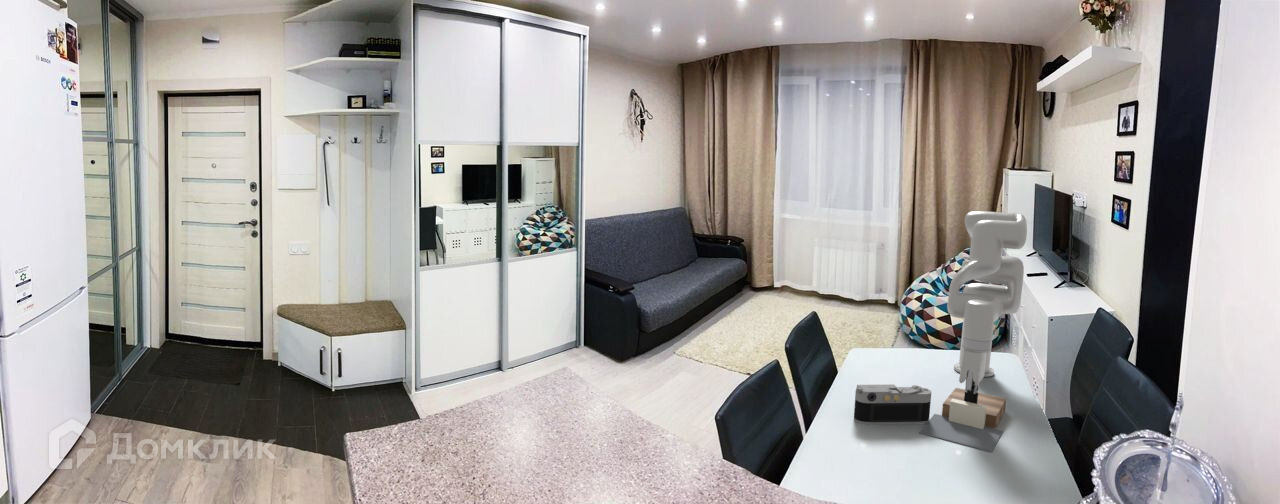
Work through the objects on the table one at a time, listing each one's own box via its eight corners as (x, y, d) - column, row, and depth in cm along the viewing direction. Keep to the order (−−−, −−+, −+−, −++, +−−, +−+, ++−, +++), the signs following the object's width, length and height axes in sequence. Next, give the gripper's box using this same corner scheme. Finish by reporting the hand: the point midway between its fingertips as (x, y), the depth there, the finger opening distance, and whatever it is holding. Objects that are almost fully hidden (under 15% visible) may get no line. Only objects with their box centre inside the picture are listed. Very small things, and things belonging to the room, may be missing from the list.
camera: (918, 411, 196) (921, 379, 194) (933, 425, 187) (936, 391, 185) (846, 411, 195) (849, 380, 194) (858, 425, 186) (861, 392, 184)
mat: (934, 414, 194) (934, 413, 193) (1002, 431, 183) (1002, 430, 183) (919, 433, 181) (919, 432, 181) (991, 452, 170) (991, 451, 170)
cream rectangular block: (952, 398, 189) (950, 401, 187) (986, 406, 184) (984, 409, 182) (950, 417, 191) (948, 420, 189) (984, 425, 185) (983, 429, 183)
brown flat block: (954, 399, 205) (955, 387, 204) (1005, 411, 196) (1006, 398, 196) (941, 416, 192) (942, 403, 192) (994, 429, 184) (996, 416, 183)
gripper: (967, 335, 193) (962, 394, 196) (955, 347, 182) (949, 409, 185) (996, 340, 189) (989, 400, 192) (985, 353, 177) (979, 416, 180)
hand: (970, 404), depth 188 cm, fingers closed
